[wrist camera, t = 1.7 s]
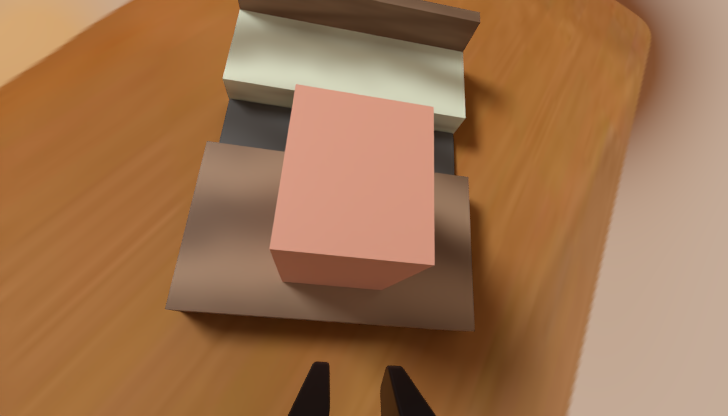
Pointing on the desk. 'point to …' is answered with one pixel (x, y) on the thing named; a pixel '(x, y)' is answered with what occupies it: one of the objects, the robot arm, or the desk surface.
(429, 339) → the desk surface
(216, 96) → the desk surface
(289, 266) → the brick block
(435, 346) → the desk surface
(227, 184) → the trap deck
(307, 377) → the robot arm
